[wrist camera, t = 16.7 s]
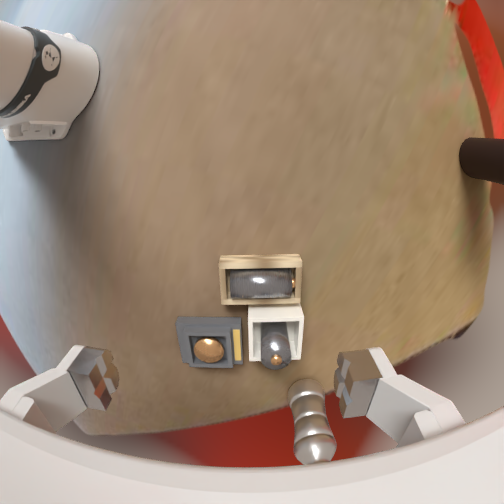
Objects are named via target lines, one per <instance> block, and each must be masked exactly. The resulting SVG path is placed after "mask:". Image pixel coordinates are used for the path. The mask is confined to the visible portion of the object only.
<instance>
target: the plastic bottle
mask: <svg viewBox="0 0 504 504" xmlns="http://www.w3.org/2000/svg"><path fill="white" fill-rule="evenodd" d="M288 402H289V405H290V407H291V409H292V414H293V418H294V425H295V439H294V454H295V456H296V458H297V459H298V460H299V461H300V462H301V463H303V464H304V465H306V464H315V463H323V462H330V460H331V459H332V457H333V455H334V453H335V451H336V441H335V438H334V436H333V434H332V431H331V429H330V427H329V423H328V420H327V417H326V412H325V403H324V402H325V394H324V389H323V387H322V386H321V384H320V383H319V382H317V381H315V380H313V379H302V380H299V381H297V382H295V383H294V384H293V385H292V386H291V387H290V388H289V391H288Z"/></svg>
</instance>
